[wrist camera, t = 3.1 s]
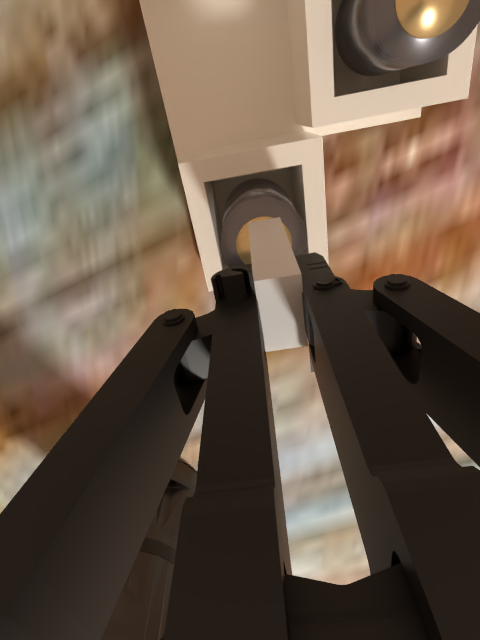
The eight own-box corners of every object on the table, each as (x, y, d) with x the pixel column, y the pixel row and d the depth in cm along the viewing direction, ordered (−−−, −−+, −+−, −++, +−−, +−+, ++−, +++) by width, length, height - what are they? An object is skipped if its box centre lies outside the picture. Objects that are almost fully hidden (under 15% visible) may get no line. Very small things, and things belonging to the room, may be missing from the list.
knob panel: (205, 267, 31) (197, 306, 24) (83, -253, 17) (-5, -459, 11) (405, 233, 29) (450, 267, 23) (443, -357, 16) (577, -658, 10)
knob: (230, 251, 25) (229, 290, 19) (217, 185, 22) (212, 208, 17) (294, 240, 24) (310, 277, 19) (288, 172, 22) (304, 192, 17)
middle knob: (336, 83, 20) (373, 73, 14) (333, -23, 18) (375, -81, 12) (417, 67, 19) (486, 51, 14) (425, -43, 17) (509, -112, 12)
